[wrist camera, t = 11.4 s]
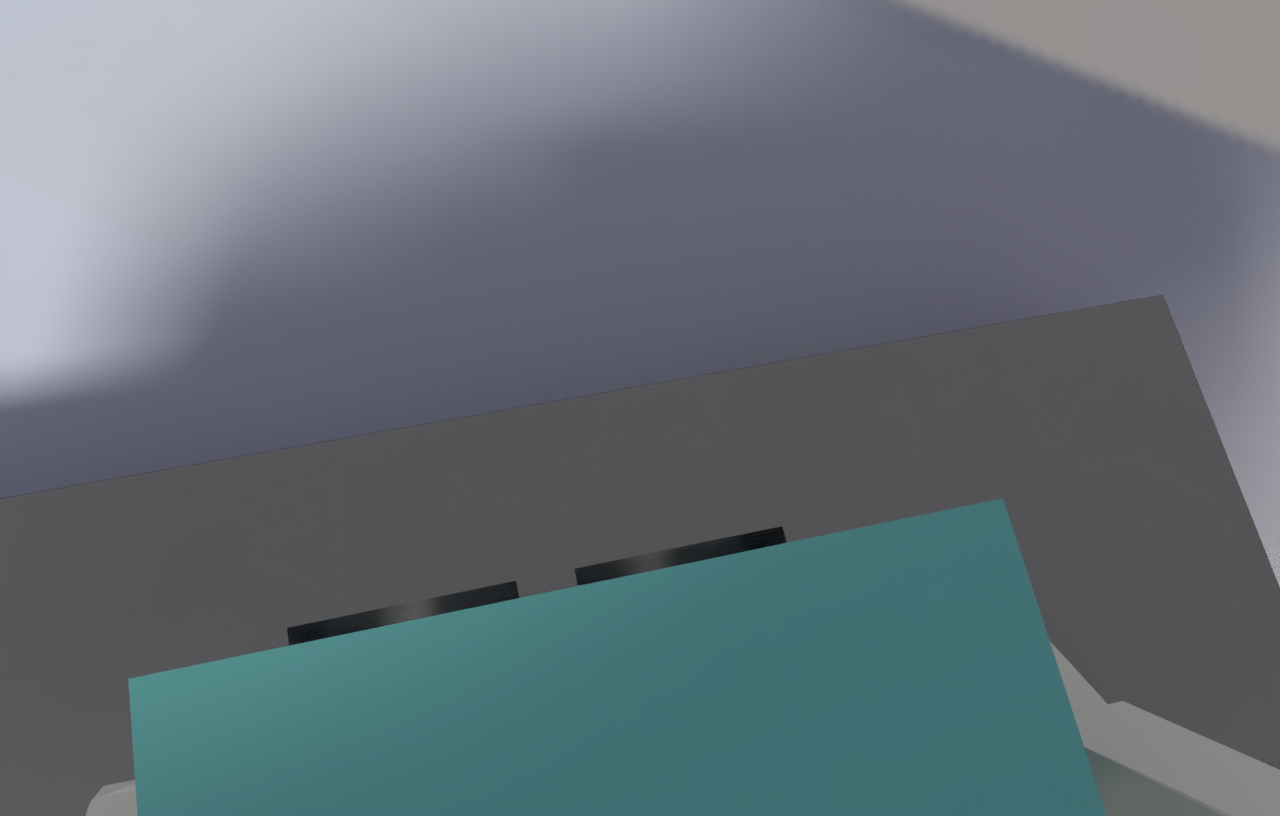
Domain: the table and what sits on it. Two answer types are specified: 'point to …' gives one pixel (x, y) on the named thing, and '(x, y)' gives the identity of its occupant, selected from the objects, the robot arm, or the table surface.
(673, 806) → the teal rectangular prism
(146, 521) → the gray rectangular base
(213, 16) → the table surface
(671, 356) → the table surface
